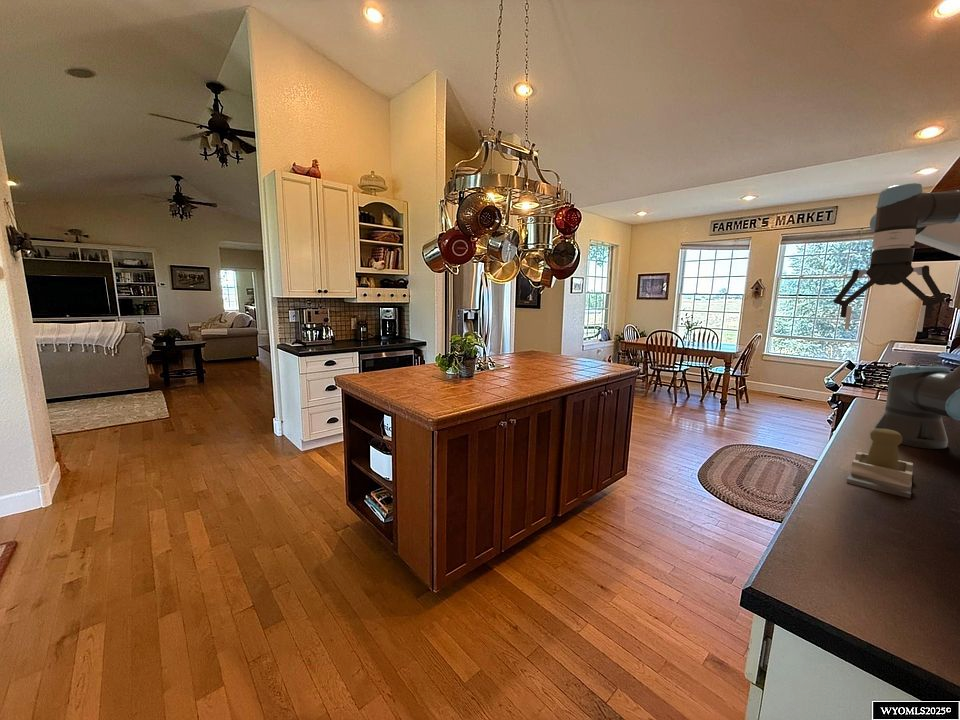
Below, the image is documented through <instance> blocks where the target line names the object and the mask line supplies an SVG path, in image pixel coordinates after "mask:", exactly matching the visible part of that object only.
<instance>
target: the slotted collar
mask: <svg viewBox="0 0 960 720" xmlns="http://www.w3.org/2000/svg"><path fill="white" fill-rule="evenodd" d="M868 454H869V453H867V452H866V453H865V452H861V451H856V453H855V458H854V459H852V463H851V468H850V471H849V474H848V476H847V479H846V483H847V484H851V485H855V486H859V487H862V488H863V487H864V488H868V489H871V490H876V491H879V492H883V493H887V494H891V495H895V496H899V497H903V498H908V499H911V496H912V484H913V483H912V482H913V466H914V463H913V462H910V461H906V460H905V461H903V460H899V459H898V469H899V471H898V470H894V469H889V468H885V467H880V466H875V465H871V464H866V463H865V462H866V459H867V457H868Z"/></svg>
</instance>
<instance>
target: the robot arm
mask: <svg viewBox="0 0 960 720" xmlns="http://www.w3.org/2000/svg"><path fill="white" fill-rule="evenodd" d="M875 208H876V211H875V213H874V214H873V215H872V216H871V219H870V221H869V227H870V231H872V232H873V238H872V249H873V250H872V252H871V253H870V262H869V268H868V269H865V270H864V269H858V268H856V269H853V272H852V274H851V277H850V279H849V280H848V281H847V283H846V284H845V286H844V287H843V288H842V289H841V290H840V291H839V293H838V295H837V296H836V297H835V298H834V300H833V304H836V305H839V306H841V308H840V309H841V311H840V317H841V318H845V320H844V321H845V322H844V330H845V331H848V330H849V329H850V323H851V314H852V307H853V306H852V305H850V304H851V303H852V302H853V301H855V299H857V298H859V296H861V295H862V294H863V293H865V292H866V291H867V290H868V289H870V288H871V287H872V286H873V285H877V286H887V285H889V286H896V285H900V284H903V286H904V287H906V288H907V289H908V290H909V291H910V292H912V293H913V294H914V295H915V296H916V297H917V298H919V300H921V301H922V302H923V303H924V304H925V305H921V306H920V311H919V318H918V323H917V324H918V325H917V333H918V332H920V333H921V332H923V329H924V328H923V327H924V321H925V319H930V318H932V314H933V307H934V305H937V304H940V303H943V302H945V301H946V298H945V297H944V295H943V294H942V292H941V290H940V288H939V287H938V286H937V284H936V282H935V281H934V279H933V278H932V276H931V274H930V266H929V265H926V264H925V265H923V266H917V267H913V265H912V264H913V263H912V262H913V255H914V249H913V248H912V246H914V245H915V242H917V243H919V244H920V243H921V244H923V245H926V246H929V247H932V248H935V249H938V250H941V251H943V252H947V253H949V254H953V255H954V256H958V257H960V190H954V191H953V190H952V191H939V192H937V191H936V192H923V185H922V184H921V183H915V182H912V183H904V184H897V185H892V186H889V187H886V188H884V189H882V190H881V191H880V193H879V195H878V201H877V206H876V207H875ZM913 273H916V274H917V275H918V276H921V278H922V279H923V281H924V282H925V284H926V285H927V288H928V289H929V290H930V292H931V294H932V295H933V297H934V299H931V298H930V297H929V296H928V295H926V294H925V292H923V290H921V289H920V288H918V287H917V286H916V285H915V284H914V283H913V282H911V281H910V280H909V279H908V277H910V275H912V274H913ZM865 275H866V276H868V278H869V279H870V280H868V281H867V282H866V283H865V284H863V285H862V286H861V287H860V288H859V289H857V290H856V291H855V292H853V294H851V295H850V296H848V297H847V298H846V299H845V300H843V299H844V298H845V296H846V295H847V294H848V293H849V292H850V290H851V289H852V287H853V286H854V285H855V283H856V282H857V281H858V279H861V278H862V277H863V276H865ZM887 386H888V387H887V394H886V400H885V401H886V402H885V409H884V413H883V414H882V415H881V417H880V419H879V420H878V422H877V423H876V425H875V426H874V428H873V430H874V429H878V428H881V429H889V430H893V431H897V432H898V433H900V434H901V436H902V442H901V444H900V445H903V446H908V447H914V448H921V449H930V450H935V449H936V450H937V449H938V450H940V449H941V450H942V449H946V448H948V445H949V444H948V443H949V439H948V436H947V432H946V429H945V425H944V422H943V416H944V417H946V418H950V419H954V420H955V421H959V422H960V364H959V365H958V366H957V367H956V368H954V369H953V371H951V367H949V366H948V367H947V366H926V365H925V366H924V365H923V366H922V365H896V366H894V367H893V368H892V369H891V370H890V376H889V377H888V385H887Z"/></svg>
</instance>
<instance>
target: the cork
mask: <svg viewBox="0 0 960 720" xmlns="http://www.w3.org/2000/svg"><path fill="white" fill-rule="evenodd" d="M870 440H871V441H872V442H871V445H870V449H869V451H868V453H867V454H868V457H867V459H866V462H865V463H866V464H871V465H875V466H880V467H885V468H889V469H894V470H898V471H899V469H898V460H899V452H898V451H899V448H898V446H899V445H902V444H901V442H902V436H901V434H900V433H898V432H897V431H893V430H889V429H881V428H878V429H874V428H873V430H871V431H870Z"/></svg>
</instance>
